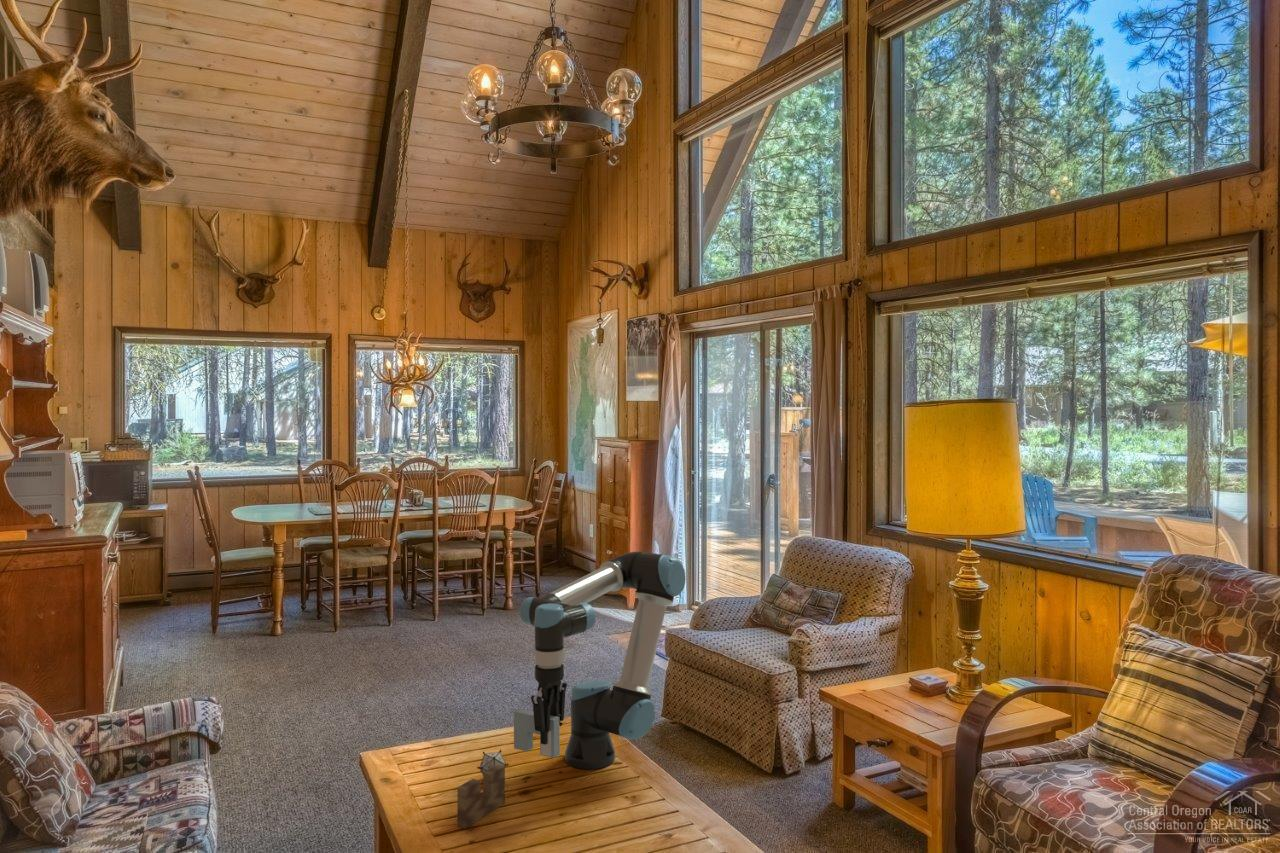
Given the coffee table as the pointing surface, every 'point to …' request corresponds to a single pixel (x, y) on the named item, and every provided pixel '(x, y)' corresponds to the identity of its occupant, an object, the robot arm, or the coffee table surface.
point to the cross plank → (526, 729)
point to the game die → (491, 761)
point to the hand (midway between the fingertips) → (549, 752)
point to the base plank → (480, 796)
